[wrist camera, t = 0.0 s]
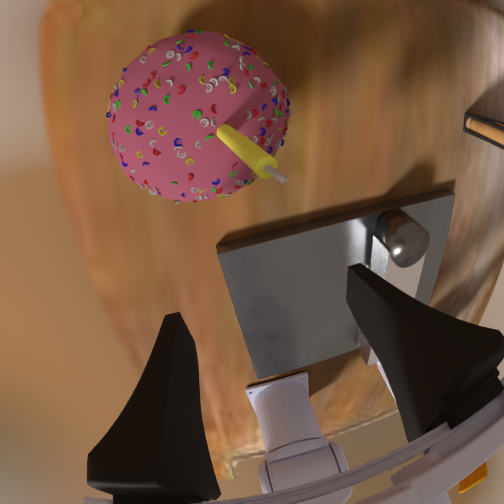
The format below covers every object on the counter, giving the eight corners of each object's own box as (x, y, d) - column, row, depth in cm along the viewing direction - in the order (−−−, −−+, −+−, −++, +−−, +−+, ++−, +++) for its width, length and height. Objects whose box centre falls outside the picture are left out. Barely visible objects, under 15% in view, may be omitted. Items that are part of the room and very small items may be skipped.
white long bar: (387, 337, 32) (398, 356, 29) (358, 349, 31) (368, 368, 29) (412, 204, 21) (434, 222, 19) (373, 214, 21) (394, 234, 19)
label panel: (418, 315, 34) (424, 322, 32) (256, 371, 32) (258, 381, 31) (447, 188, 23) (457, 195, 22) (215, 245, 22) (217, 257, 21)
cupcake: (280, 61, 15) (406, 59, 6) (244, 182, 20) (304, 310, 10) (142, 34, 13) (65, -24, 3) (117, 163, 17) (42, 283, 7)
